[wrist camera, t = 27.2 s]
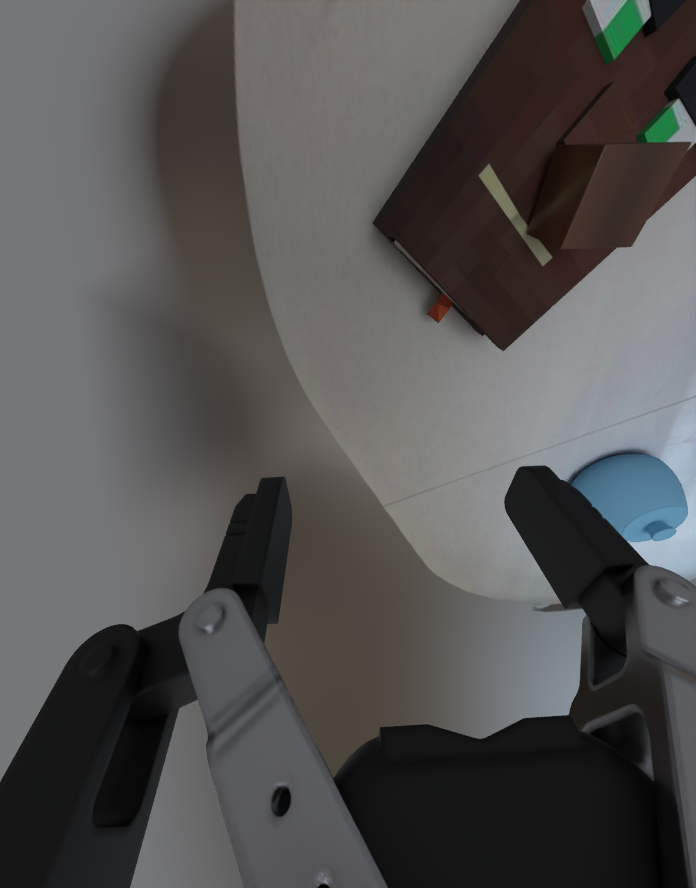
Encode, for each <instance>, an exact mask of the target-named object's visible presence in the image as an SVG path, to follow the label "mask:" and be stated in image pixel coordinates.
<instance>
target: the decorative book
mask: <svg viewBox="0 0 696 888" xmlns="http://www.w3.org/2000/svg"><path fill="white" fill-rule="evenodd" d="M639 142H692V143H691V145H690V147H689V149H688V150H687V152H686V154H685V156H684V157H683V159H682V161H681V162H680V164H679V166H678V168H677V169H676V171H675V173H674V174H673V176H672V178H671V180H670V181H669V183H668V185H667V187H666V188H665V190H664V192H663V193H662V195H661V197H660V199H659V200H658V202H657V204H656V205H655V207H654V209H653V211H652V212H651V214H650V216H649V218H650V217H651V216H652V215H653V214H654V213H655V212H656V211H658V210H659V209H660V208H661V207H662V206H663V205H664V204H665V203H666V202H667V201H669V200H670V199H671V198H672V197H673V196H674V195H675V194H676V193H677V192H678V191H679V190H681V189H682V188H683V187H684V186H685V185H686V184H687V183H688V182H689V181H690V180H692V179H693V178H694V177H695V176H696V0H520V1H519V3H518V4H517V6H516V7H515V9H514V11H513V12H512V14H511V15H510V17H509V18H508V20H507V21H506V23H505V24H504V26H503V27H502V29H501V30H500V32H499V33H498V35H497V36H496V38H495V39H494V41H493V42H492V44H491V45H490V47H489V48H488V50H487V51H486V53H485V54H484V56H483V57H482V59H481V60H480V62H479V63H478V65H477V66H476V68H475V69H474V71H473V72H472V74H471V75H470V77H469V78H468V80H467V81H466V83H465V84H464V86H463V87H462V89H461V90H460V92H459V93H458V95H457V96H456V98H455V99H454V101H453V102H452V104H451V105H450V107H449V108H448V110H447V111H446V113H445V114H444V116H443V117H442V119H441V120H440V122H439V123H438V125H437V127H436V128H435V130H434V131H433V133H432V134H431V136H430V137H429V139H428V140H427V142H426V143H425V145H424V146H423V148H422V149H421V151H420V152H419V154H418V155H417V157H416V158H415V160H414V161H413V163H412V164H411V166H410V167H409V169H408V170H407V172H406V173H405V175H404V176H403V178H402V179H401V181H400V182H399V184H398V185H397V187H396V188H395V190H394V191H393V193H392V194H391V196H390V197H389V199H388V200H387V202H386V203H385V205H384V206H383V208H382V209H381V211H380V212H379V214H378V215H377V217H376V218H375V220H374V221H373V224H374V225H375V226H376V227H377V228H378V229H379V230H380V231H381V232H382V233H383V235H384V236H385V237H386V238H387V239H388V240H389V241H390V242H391V243H392V244H393V245H394V246H395V247H396V248H397V249H398V250H399V251H400V252H401V253H402V254H403V255H404V256H405V257H406V259H407V260H408V261H409V262H410V263H411V264H412V265H413V266H414V267H415V268H416V269H417V270H418V271H419V272H420V273H421V274H422V275H423V276H424V277H425V278H426V279H427V280H428V281H429V283H430V284H431V285H432V286H433V287H434V288H435V289H436V290H437V291H438V292H439V293H440V295H439V297H438V299H437V301H436V303H435V304H434V305H433V307H432V308H431V309H430V311H429V312H428V313H427V314H428V315H429V316H430V317H431V318H433V319H434V320H435V321H437V322H438V323H439V322H440V320H441V319H442V318H443V317H444V315H445V314H446V313H447V312H448V310H449V309H450V307H451V306H452V307H453V308H454V309H455V310H456V311H457V312H458V313H459V314H460V315H461V316H462V317H463V318H464V319H465V320H466V321H467V322H468V323H469V324H470V325H471V326H472V327H473V328H474V330H475V331H476V332H478V333H479V334H480V335H482V336H483V335H484V334H485V335H486V336H487V337H488V338H489V339H490V340H491V341H492V342H493V343H494V344H495V345H496V346H497V347H498V348H500V349H501V350H502V351H504V350H505V349H506V348H507V347H508V346H510V345H511V344H512V343H513V342H514V341H515V340H516V339H517V338H518V337H519V336H521V335H522V334H523V333H524V332H525V331H526V330H527V329H528V328H529V327H530V326H532V325H533V324H534V323H535V322H536V321H537V320H538V319H539V318H540V317H541V316H542V315H544V314H545V313H546V312H547V311H548V310H549V309H550V308H551V307H552V306H553V305H555V304H556V303H557V302H558V301H559V300H560V299H561V298H562V297H563V296H564V295H565V294H567V293H568V292H569V291H570V290H571V289H572V288H573V287H574V286H575V285H576V284H578V283H579V282H580V281H581V280H582V279H583V278H584V277H585V276H586V275H587V274H589V273H590V272H591V271H592V270H593V269H594V268H595V267H596V266H597V265H598V264H599V263H601V262H602V261H603V260H604V259H605V258H606V257H607V256H608V255H609V254H610V253H612V252H613V251H614V250H615V249H616V248H617V247H614V248H586V249H559V248H556V247H554V246H552V245H549V244H547V243H545V242H543V241H540V240H538V239H536V238H534V237H531V236H529V235H527V234H526V233H527V230H528V227H529V224H530V221H531V219H532V216H533V213H534V210H535V207H536V204H537V201H538V199H539V196H540V193H541V190H542V187H543V184H544V181H545V178H546V176H547V173H548V170H549V167H550V164H551V161H552V158H553V156H554V153H555V150H556V147H557V145H568V144H601V143H639ZM649 218H648V219H649ZM648 219H647V220H648Z"/></svg>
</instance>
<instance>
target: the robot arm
mask: <svg viewBox="0 0 696 888" xmlns="http://www.w3.org/2000/svg"><path fill="white" fill-rule="evenodd" d="M504 503H505V509H506V512H507V514H508V516H509V518H510V519H511V521H512V523H513V524H514V526H515V528H516V529H517V531H518V532H519V534H520V536H521V537H522V539H523V541H524V542H525V544H526V546H527V547H528V549H529V551H530V552H531V554H532V555H533V557H534V559H535V560H536V562H537V564H538V565H539V567H540V569H541V570H542V572H543V574H544V575H545V577H546V578H547V580H548V582H549V583H550V585H551V587H552V588H553V590H554V592H555V593H556V595H557V597H558V598H559V600H560V601H561V603H562V605H563V606H564V608H565V609H568V608H583V610H584V611H585V613H586V614H587V615H586V616H585V617H584V619H583V624H582V646H581V668H580V685H579V689H578V692H577V695H576V696H575V698H574V700H573V702H572V705H571V708H570V712H569V715H566V716H552V717H551V716H550V717H536V718H524V719H522V720H520V721H518V722H516V723H514V724H512V725H510V726H508V727H506V728H504V729H502V730H500V731H498V732H496V733H494V734H492V735H490V736H488V737H486V738H483V739H477V738H472V737H469V736H466V735H462V734H459V733H456V732H452V731H449V730H445V729H441V728H438V727H435V726H431V725H428V724H425V725H409V726H394V727H380V730H379V735H378V737H376V738H374V739H372V740H370V741H368V742H367V743H365V744H364V745H362V746H361V747H360V748H358V749H357V750H356V751H355V752H354V753H353V754H352V755H351V756H350V757H349V758H348V759H347V760H346V762H345V763H344V764H343V765H342V767H341V768H340V769H339V771H338V772H337V774H336V776H335V777H334V778H333V776H332V774H331V772H330V770H329V768H328V766H327V765H326V763H325V761H324V759H323V757H322V755H321V753H320V751H319V749H318V747H317V745H316V743H315V741H314V739H313V738H312V735H311V734H310V731H309V730H308V728H307V726H306V724H305V722H304V720H303V718H302V716H301V714H300V712H299V710H298V708H297V706H296V705H295V703H294V701H293V699H292V697H291V695H290V693H289V691H288V689H287V687H286V685H285V683H284V681H283V679H282V677H281V675H280V674H279V672H278V670H277V668H276V666H275V664H274V662H273V660H272V658H271V656H270V654H269V652H268V650H267V648H266V646H265V644H264V641H265V636H266V630H267V624H275V623H278V620H279V613H280V604H281V598H282V591H283V584H284V576H285V569H286V562H287V554H288V547H289V540H290V532H291V526H292V525H291V524H292V507H291V502H290V497H289V493H288V488H287V484H286V479H285V477H269V478H262V479H261V480H260V483H259V487H258V490H257V493H256V494H246V495H245V496H244V497H243V498H242V500H241V501H240V502H239V503H238V504H237V505H236V507H235V509H234V512H233V515H232V518H231V520H230V524H229V526H228V529H227V532H226V536H225V538H224V541H223V543H222V546H221V549H220V552H219V555H218V558H217V561H216V564H215V567H214V570H213V572H212V575H211V578H210V581H209V583H208V586H207V588H206V590H205V591H204V593H203V594H202V595H201V596H200V597H198V598H197V599H196V600H195V601H194V602H193V603H192V604H191V605H190V606H189V607H188V609H187V610H186V611H185V612H183V613H181V614H179V615H177V616H175V617H173V618H170V619H168V620H165V621H163V622H160V623H158V624H155V625H152V626H150V627H147V628H145V629H142V630H139V631H136V630H135V629H134V628H133V627H131V626H129V625H125V624H119V625H113V626H110V627H107V628H105V629H103V630H101V631H99V632H97V633H96V634H94V635H93V636H91V637H90V638H89V639H88V640H86V641H85V642H84V643H83V644H82V645H81V646H80V647H79V648H78V649H77V650H76V651H75V652H74V654H73V655H72V656H71V658H70V659H69V661H68V662H67V664H66V666H65V667H64V669H63V671H62V673H61V674H60V676H59V678H58V680H57V682H56V683H55V685H54V687H53V689H52V690H51V693H50V694H49V696H48V698H47V699H46V701H45V703H44V705H43V707H42V709H41V710H40V712H39V714H38V716H37V717H36V719H35V721H34V723H33V724H32V726H31V728H30V730H29V732H28V734H27V735H26V737H25V739H24V740H23V743H22V744H21V746H20V748H19V750H18V751H17V753H16V755H15V757H14V758H13V760H12V762H11V764H10V766H9V767H8V769H7V771H6V773H5V774H4V776H3V778H2V780H1V782H0V888H130V885H131V882H132V878H133V874H134V871H135V867H136V864H137V860H138V856H139V853H140V849H141V846H142V842H143V838H144V835H145V831H146V827H147V823H148V820H149V816H150V813H151V809H152V805H153V802H154V798H155V794H156V791H157V787H158V783H159V780H160V776H161V772H162V769H163V765H164V762H165V758H166V754H167V750H168V747H169V743H170V740H171V736H172V732H173V729H174V725H175V721H176V718H177V714H178V711H179V708H181V707H182V706H185V705H187V704H189V703H191V702H193V701H195V700H198V701H199V705H200V707H201V711H202V714H203V717H204V721H205V724H206V728H207V732H208V741H207V745H206V748H207V750H206V751H207V758H208V763H209V768H210V771H211V775H212V778H213V782H214V785H215V789H216V792H217V796H218V799H219V803H220V806H221V809H222V813H223V816H224V820H225V823H226V826H227V830H228V833H229V837H230V840H231V844H232V847H233V850H234V854H235V858H236V861H237V864H238V868H239V871H240V875H241V878H242V882H243V885H244V888H696V587H695V586H694V585H693V584H692V583H690V582H689V581H688V580H686V579H685V578H683V577H681V576H680V575H678V574H676V573H674V572H672V571H670V570H667V569H664V568H662V567H658V566H652V565H649V564H648V563H647V562H646V561H645V560H644V559H643V558H642V557H641V556H640V555H639V554H638V553H637V552H636V551H635V550H634V548H633V547H632V546H631V545H630V544H629V543H628V542H627V541H626V540H625V539H624V538H623V537H622V536H621V535H620V533H619V532H618V531H617V530H616V529H615V528H614V527H613V526H612V525H611V524H610V523H609V522H608V521H607V520H606V519H605V518H603V517H602V514H601V513H600V512H599V511H598V510H597V509H596V508H595V507H592V504H591V503H590V501H589V500H588V499H587V498H586V497H585V496H584V495H583V494H582V493H581V492H580V491H579V490H577V489H576V488H574V487H573V486H571V485H570V484H568V483H567V482H565V481H564V480H560V479H559V478H558V477H557V476H556V474H555V473H554V472H553V471H552V470H551V469H550V468H549V467H547V466H544V465H543V466H523V467H520V468H518V470H517V471H516V474H515V476H514V478H513V480H512V483H511V485H510V487H509V489H508V492H507V494H506V496H505V501H504Z"/></svg>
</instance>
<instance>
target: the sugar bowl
mask: <svg viewBox="0 0 696 888" xmlns="http://www.w3.org/2000/svg"><path fill="white" fill-rule="evenodd" d="M571 486H573V487H574V488H576V489H577V490H579V491H580V492H581V493H582V494H583V495H584V496H585V497H586V498H587V499H588V500H589V501H590V503H591V504H592V507H595V508H596V509H597V510H598V511H599V512H600V513H601V514H602V517H603V518H605V519H606V520H607V521H608V522H609V523H610V524H611V525H612V526H613V527H614V528H615V529H616V530H617V531H618V532H619V533H620V535H621V536H622V537H623V538H624V539H625V540H626V541H629V542H641V541H647V540H651V539H652V540H654V541H661V540H665V539H668V538H670V537H671V536H673V535H674V534H675V533H676V529H675V528H677V527H678V526H679V525H681V524H682V523H683V521H684V520H685V519H686V517H687V514H688V508H687V502H686V498H685V494H684V490H683V488H682V485H681V483H680V481H679V480H678V478H677V476H676V475H675V474H674V472H673V471H672V470H671V469H670V468H669V467H668V466H667V465H666V464H665V463H664V462H662V461H661V460H660V459H658V458H656V457H652V456H649V455H641V454H623V455H616V456H612V457H608V458H605V459H603V460H600V461H598V462H596V463H594V464H592V465H591V466H589V467H588V468H586V469H585V470H583V471H582V472H581V473H580V474H579V475H578V476H577V477H576V478H575V479H574V481H573V482H572V484H571Z"/></svg>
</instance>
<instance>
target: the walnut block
mask: <svg viewBox="0 0 696 888" xmlns="http://www.w3.org/2000/svg"><path fill="white" fill-rule="evenodd" d="M691 143H692V142H639V143H601V144H568V145H557V147H556V150H555V153H554V156H553V158H552V161H551V164H550V167H549V170H548V173H547V176H546V178H545V181H544V184H543V187H542V190H541V193H540V196H539V199H538V201H537V204H536V207H535V210H534V213H533V216H532V219H531V221H530V224H529V227H528V230H527V233H526V234H527V235H529V236H531V237H534V238H536V239H538V240H540V241H543V242H545V243H547V244H549V245H552V246H554V247H556V248H559V249H586V248H614V247H631V246H632V245H633V243H634V242H635V240H636V238H637V236H638V235H639V233H640V231H641V230H642V228H643V226H644V224H645V223H646V221H647V219H648V218H649V216H650V214H651V212H652V211H653V209H654V207H655V205H656V204H657V202H658V200H659V199H660V197H661V195H662V193H663V192H664V190H665V188H666V187H667V185H668V183H669V181H670V180H671V178H672V176H673V174H674V173H675V171H676V169H677V168H678V166H679V164H680V162H681V161H682V159H683V157H684V156H685V154H686V152H687V150H688V149H689V147H690V145H691Z"/></svg>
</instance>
